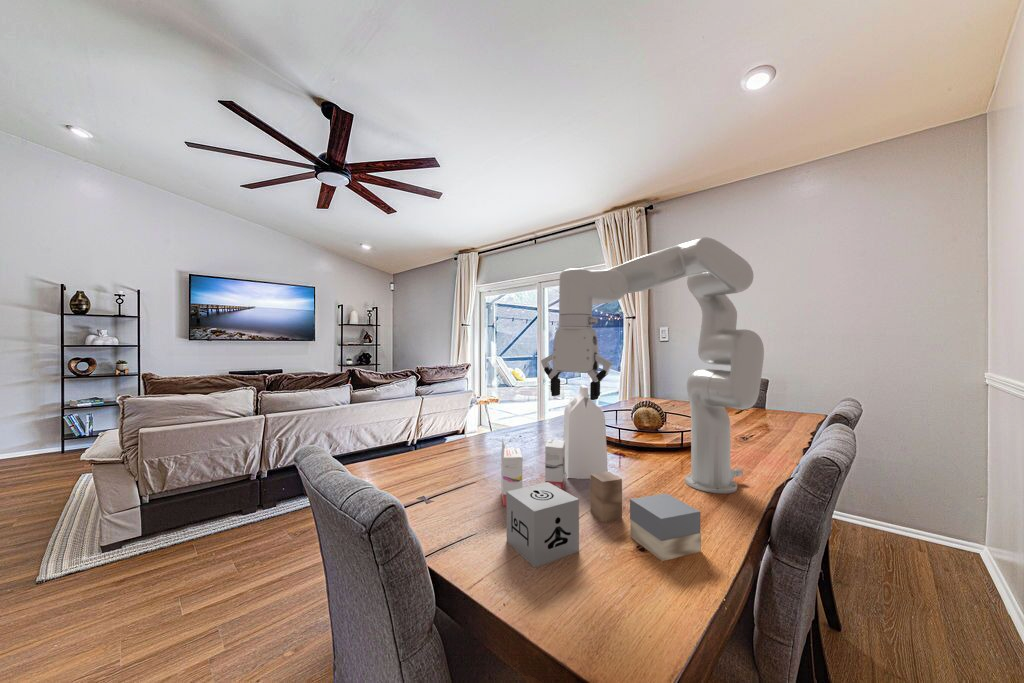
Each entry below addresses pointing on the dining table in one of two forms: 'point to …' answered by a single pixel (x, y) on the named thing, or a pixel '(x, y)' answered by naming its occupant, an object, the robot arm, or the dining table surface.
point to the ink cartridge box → (510, 470)
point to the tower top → (665, 516)
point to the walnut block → (606, 496)
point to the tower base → (666, 543)
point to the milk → (584, 437)
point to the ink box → (555, 462)
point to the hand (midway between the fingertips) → (574, 397)
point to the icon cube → (542, 523)
